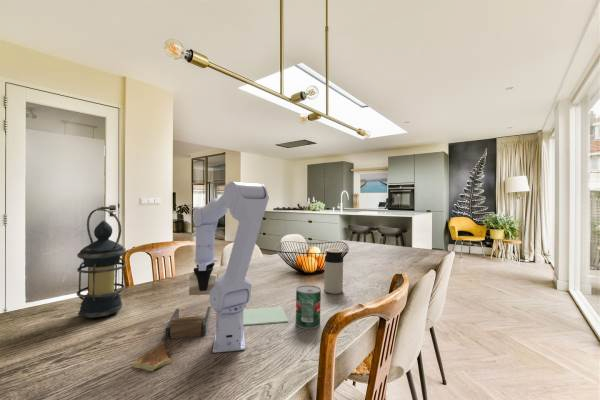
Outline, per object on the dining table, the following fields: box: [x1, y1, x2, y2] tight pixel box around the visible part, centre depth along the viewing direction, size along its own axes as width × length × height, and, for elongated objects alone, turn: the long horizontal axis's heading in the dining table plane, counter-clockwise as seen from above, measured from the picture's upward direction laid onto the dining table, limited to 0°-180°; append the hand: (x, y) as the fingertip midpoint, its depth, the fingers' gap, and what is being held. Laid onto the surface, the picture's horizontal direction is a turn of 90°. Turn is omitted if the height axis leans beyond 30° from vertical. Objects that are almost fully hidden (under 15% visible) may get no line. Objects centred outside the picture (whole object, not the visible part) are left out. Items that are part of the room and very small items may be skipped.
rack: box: [164, 306, 212, 340], centre depth 84 cm, size 14×11×3 cm
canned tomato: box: [295, 284, 322, 330], centre depth 87 cm, size 8×8×11 cm
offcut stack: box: [170, 315, 204, 339], centre depth 79 cm, size 4×8×4 cm, turn 103°
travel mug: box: [323, 248, 344, 295], centre depth 120 cm, size 8×8×18 cm
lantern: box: [76, 208, 127, 319], centre depth 91 cm, size 14×13×35 cm
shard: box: [131, 339, 173, 372], centre depth 67 cm, size 11×8×2 cm
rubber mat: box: [243, 306, 289, 327], centre depth 92 cm, size 12×20×1 cm, turn 103°
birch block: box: [188, 271, 219, 296], centre depth 88 cm, size 4×8×6 cm, turn 96°
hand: (204, 288), depth 88 cm, fingers closed on birch block, 4 cm apart
